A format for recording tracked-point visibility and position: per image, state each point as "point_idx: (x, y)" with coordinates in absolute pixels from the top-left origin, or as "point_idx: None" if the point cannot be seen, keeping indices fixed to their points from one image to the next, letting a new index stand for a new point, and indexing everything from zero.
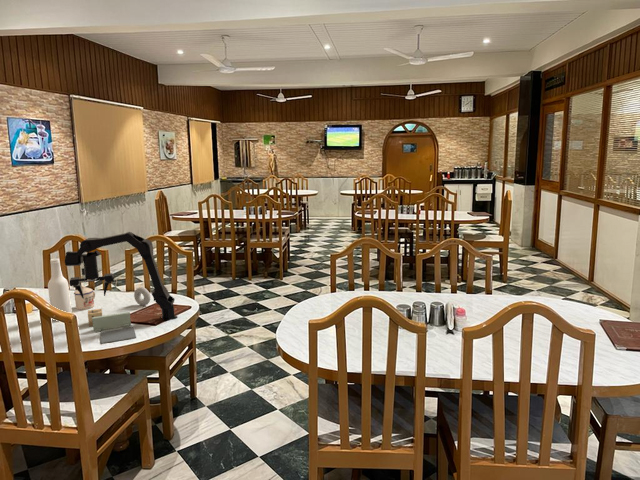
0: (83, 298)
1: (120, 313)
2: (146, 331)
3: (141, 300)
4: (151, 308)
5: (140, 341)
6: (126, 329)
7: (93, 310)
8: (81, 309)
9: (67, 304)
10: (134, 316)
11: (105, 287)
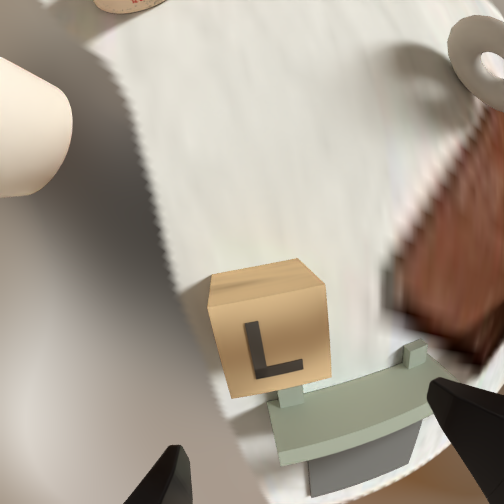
0: (187, 460)
1: (425, 407)
2: None
3: (481, 76)
4: (496, 149)
5: (408, 473)
6: None
7: (260, 321)
8: (120, 13)
9: (5, 155)
10: (450, 248)
11: (493, 480)
